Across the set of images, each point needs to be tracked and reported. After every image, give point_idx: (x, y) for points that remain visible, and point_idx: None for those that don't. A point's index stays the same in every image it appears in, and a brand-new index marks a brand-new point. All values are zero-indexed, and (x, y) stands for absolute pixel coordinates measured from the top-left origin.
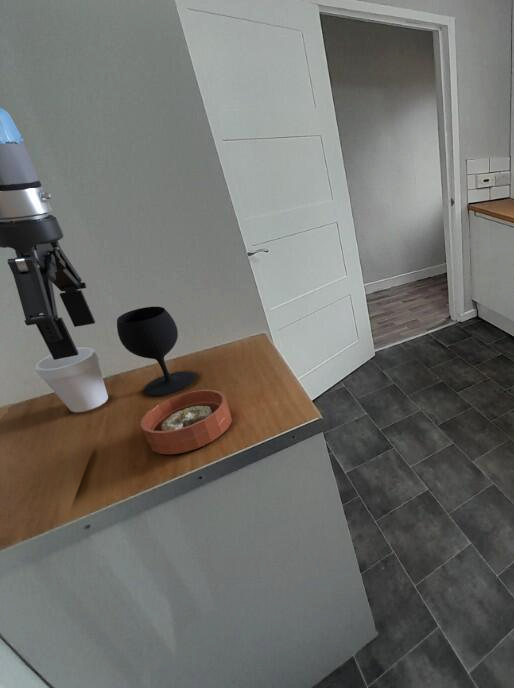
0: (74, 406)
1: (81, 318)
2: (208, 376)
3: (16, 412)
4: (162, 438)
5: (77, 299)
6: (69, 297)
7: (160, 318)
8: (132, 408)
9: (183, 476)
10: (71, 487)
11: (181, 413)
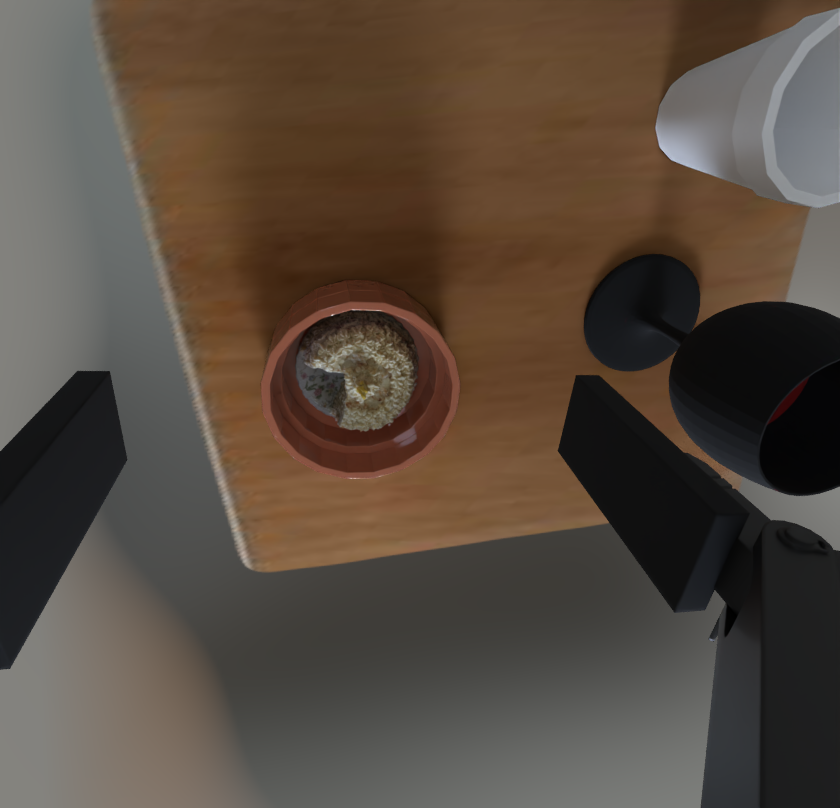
0: (682, 87)
1: (584, 438)
2: None
3: None
4: (276, 340)
5: (647, 540)
6: (677, 526)
7: (753, 476)
8: (585, 227)
9: (177, 346)
10: (278, 106)
11: (361, 384)
